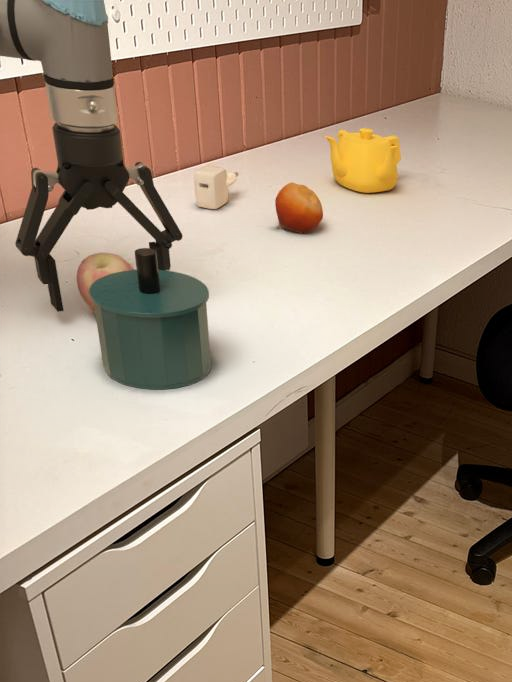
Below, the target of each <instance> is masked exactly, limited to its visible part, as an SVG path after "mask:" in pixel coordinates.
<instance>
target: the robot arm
mask: <svg viewBox="0 0 512 682" xmlns="http://www.w3.org/2000/svg"><path fill="white" fill-rule="evenodd" d="M111 52H112V51H111V43H110V33H109V16H108V14H107V10H106V4H105V0H0V57H5V58H14V59H21V60H22V59H23V60H27V61H33V62H36V61H37V62H40V63H41V68H42V72H43V78H44V84H45V91H46V97H47V104H48V111H49V116H50V119H51V120H52V121H53V122H54V124H53V125H52V128H51V129H52V136H53V141H54V147H55V148H54V149H55V152H56V160H57V168H56V171H49V170H47V171H43V170H41V169H40V168H38V167H33V168H32V169H31V171H30V176H31V177H30V178H31V189H30V192H29V196H28V201H27V203H26V207H25V210H24V213H23V216H22V218H21V219H22V220H21V222H20V226H19V231H18V232H17V237H16V239H15V243H14V245H15V247H16V249H17V250H18V251H19V252H20V253H21V255H23V256H25V257H33V259H34V263H35V269H36V274H37V275H36V276H37V278H38V280H39V281H40V282H41V283H42V285H44V286H45V285H47V288H48V294H49V300H50V305H51V306H52V307H53V309H55V311H56V312H58V313H61V312H65V309H64V304H63V298H62V291H61V286H60V280H59V275H58V269H57V264H56V263H57V262H56V259H55V258H54V257H53V256H52V255H51V252H52V251H53V249H54V248H55V247H56V245H57V243H58V241H59V240H60V238H61V236H62V235H63V233H64V232H65V230H66V229H67V227H68V226H69V224H70V222H71V221H72V219H73V217H74V216H76V215H78V214H79V211H80V210H81V209H82V208H84V209H86V210H87V211H88V210H95V209H99V208H103V209H113V206H115V205H116V204H119V205H120V206H121V208H123V209H124V210H125V211H126V212H127V214H129V215H130V216H131V217H132V218H133V219H134V220H135V221H136V222H137V223H138V224H139V225H140V226H141V227H142V228H143V230H145V232H147V233H148V234H149V235H150V237H152V239H154V240H155V241H149V242H148V247H149V248H150V249H153V250H155V251H156V253H157V262H158V270H166V271H171V270H170V269H171V266H172V265H171V256H170V255H171V254H170V249H172V247H173V243H174V242H179V241H181V240H182V239H183V233H182V231H181V230H180V228H179V226H178V224H177V222H176V221H175V220H174V217H173V216H172V214H171V213H170V211H169V209H168V207H167V205H166V204H165V202H164V200H163V199H162V197H161V196H160V193H159V192H158V190H157V188H156V187H155V185H154V179H153V174H152V170H151V169H150V168H149V167H148V166H147V165H146V164H145V163H143V162H141V161H136V163H135V164H134V165H133V166H128V167H126V166H125V161H124V152H123V145H122V137H121V129H120V128H119V127H118V126H117V125H116V124H117V123H118V122H119V113H118V104H117V95H116V88H115V80H114V72H113V63H112V53H111ZM130 179H131V180H132V182H133V183H134V184H136V185H137V186H139V187H140V189H141V191H142V193H143V194H144V196H145V198H146V199H147V201H148V203H149V204H150V206H151V207H152V210H153V211H154V213H155V214H156V216H157V218H158V220H159V221H160V224H161V225H162V226H163V228H164V229H163V230H162V231H161V230H160V229H159V228H158V227H157V226H156V225H155V224H154V222H152V221H151V220H150V218H149V217H148V216H146V214H145V213H144V212H142V210H141V209H140V208H139V207H138V206H136V204H135V203H134V202H133V200H131V199H130V198H129V197H128V196H127V195H126V194H125V193H124V190H125V188H126V187H127V185H128V183H129V182H130ZM56 184H59V185H60V187H61V188H62V189H63V190H64V191H63V192H62V194H61V195H60V196H59V198H58V203H57V205H56V206H55V209H54V210H53V212H52V213H51V215H50V216H49V218H48V219H47V221H46V222H45V224H44V225H43V228H42V229H41V230H40V227H41V223H42V220H43V218H44V214H45V211H46V208H47V203H48V200H49V193H51V192H52V191H54V188H55V185H56ZM39 230H40V232H39Z"/></svg>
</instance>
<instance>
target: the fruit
mask: <svg viewBox="0 0 512 682" xmlns="http://www.w3.org/2000/svg"><path fill="white" fill-rule="evenodd" d="M274 201H275V202H274V203H275V211H276V212H275V213H276V216H277V220H278V225H277V226H276V228H275V229H276V230H277V229H279V228H281V227H284V228H286V229H288V230H289V231H292V232H296V233H300V234H307V233H310V232H312V231H313V230H314V229H315V228H316V227H318V226H319V225H320V223H321V221H322V220H323V218H324V210H323V205H322V203H321V200H320V198H319V197H318V195H317V194H316V193H315V192H314V190H313V189H310V188H309V187H308V186H306V185H304V184H299V183H295V182H289V183H287V184H285V185H284V186H283V187H282V188H281V189H280V190H279V191H278V193H277V195H276V197H275V200H274Z"/></svg>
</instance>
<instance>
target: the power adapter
mask: <svg viewBox="0 0 512 682" xmlns="http://www.w3.org/2000/svg"><path fill="white" fill-rule="evenodd" d="M238 176H239V172H237V171H234V172H230V171H227V170H226V168H225V167H222V166H218V165H213V164H212V165H211V164H206V165H204V166H202V167H200V168H199V169H197V170H196V171H195V172H194V175H193V183H194V195H195V204H196V205H197V206H198V207H200V208H204V209H209V210H217V209H220V208H221V207H222V206H223V205H225V204H227V203H228V200H229V187H231V186H233V185H234V184H235V183H236V182H237V180H238V179H237V177H238Z"/></svg>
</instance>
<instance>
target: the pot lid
mask: <svg viewBox="0 0 512 682" xmlns="http://www.w3.org/2000/svg"><path fill="white" fill-rule="evenodd" d="M134 259H135V269H134V270H128V271H122V272H117V273H113V274H109V275H106V276H104V277H102V278H99V279H98V280H96V281H95V282H94V283H93V284H92V285H91V286H90V289H89V294H90V298H91V300H92V301H93V302H94V303H95V304H96V305H97V306H99V307H101V308H103V309H105V310H107V311H110V312H113V313H117V314H121V315H126V316H133V317H146V318H157V317H170V316H176V315H181V314H186V313H189V312H192V311H194V310H197V309H199V308H200V307H202V306H203V305H204V304H205V303H206V304H207V303H208V301H209V299H210V292H209V291H210V290H209V288H208V286H207V285H206V284H205V283H204V282H202V281H201V280H199V279H198V278H196V277H194V276H192V275H188V274H186V273H181V272H177V271H172V270H158V262H157V253H156V251H155V250H153V249H150V248H148V247H141V248H137V249H135V250H134Z"/></svg>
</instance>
